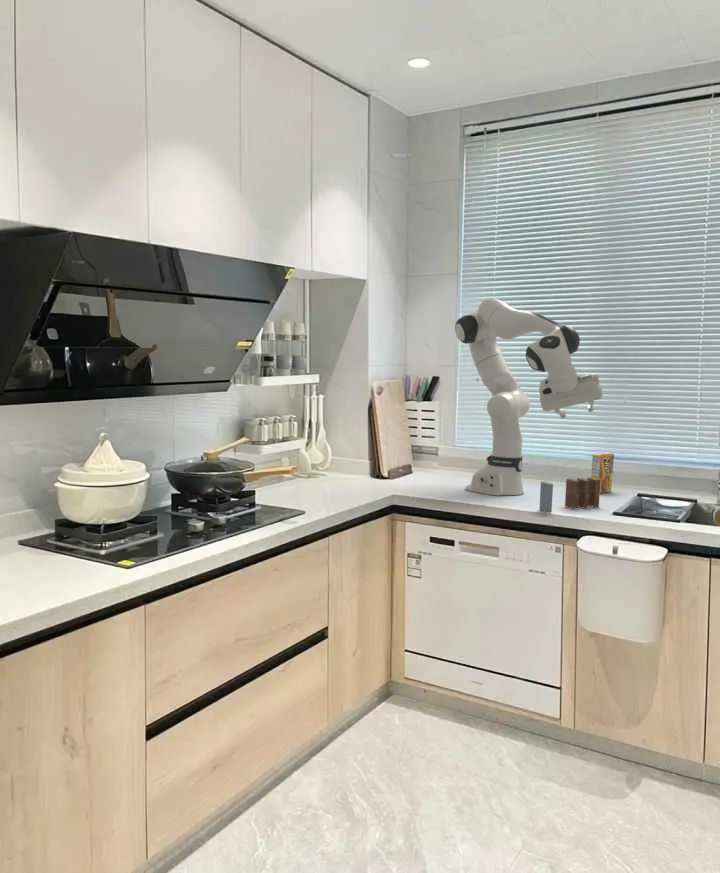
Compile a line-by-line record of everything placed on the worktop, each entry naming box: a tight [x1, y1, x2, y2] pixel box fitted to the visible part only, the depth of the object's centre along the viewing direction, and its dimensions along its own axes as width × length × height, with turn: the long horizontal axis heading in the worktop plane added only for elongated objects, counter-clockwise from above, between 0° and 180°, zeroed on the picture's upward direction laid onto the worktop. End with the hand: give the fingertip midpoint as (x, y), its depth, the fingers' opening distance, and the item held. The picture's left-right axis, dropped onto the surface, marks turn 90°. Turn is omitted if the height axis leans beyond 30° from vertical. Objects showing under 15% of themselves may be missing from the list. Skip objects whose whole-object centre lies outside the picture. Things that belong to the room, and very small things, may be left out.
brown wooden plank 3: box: [576, 477, 590, 509], centre depth 281 cm, size 2×5×10 cm, turn 22°
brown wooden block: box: [586, 476, 601, 508], centre depth 282 cm, size 2×5×10 cm, turn 22°
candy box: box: [590, 452, 615, 494], centre depth 309 cm, size 9×4×15 cm, turn 129°
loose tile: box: [539, 481, 554, 513], centre depth 272 cm, size 2×5×10 cm, turn 17°
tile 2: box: [564, 478, 579, 509], centre depth 279 cm, size 2×5×10 cm, turn 22°
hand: (577, 413), depth 267 cm, fingers open, 8 cm apart
